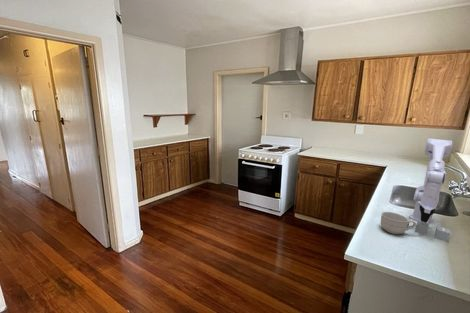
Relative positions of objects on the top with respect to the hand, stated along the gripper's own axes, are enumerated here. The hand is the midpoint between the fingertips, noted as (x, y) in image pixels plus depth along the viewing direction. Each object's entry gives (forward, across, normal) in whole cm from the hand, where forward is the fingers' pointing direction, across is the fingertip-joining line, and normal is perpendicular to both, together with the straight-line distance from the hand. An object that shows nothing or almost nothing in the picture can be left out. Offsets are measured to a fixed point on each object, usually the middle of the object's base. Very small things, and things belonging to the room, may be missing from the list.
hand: (423, 221), depth 110 cm
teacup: (+6, +9, -10) cm, 14 cm away
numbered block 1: (+6, 0, +7) cm, 9 cm away
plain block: (+6, 0, 0) cm, 6 cm away
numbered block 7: (+6, 0, -7) cm, 9 cm away
